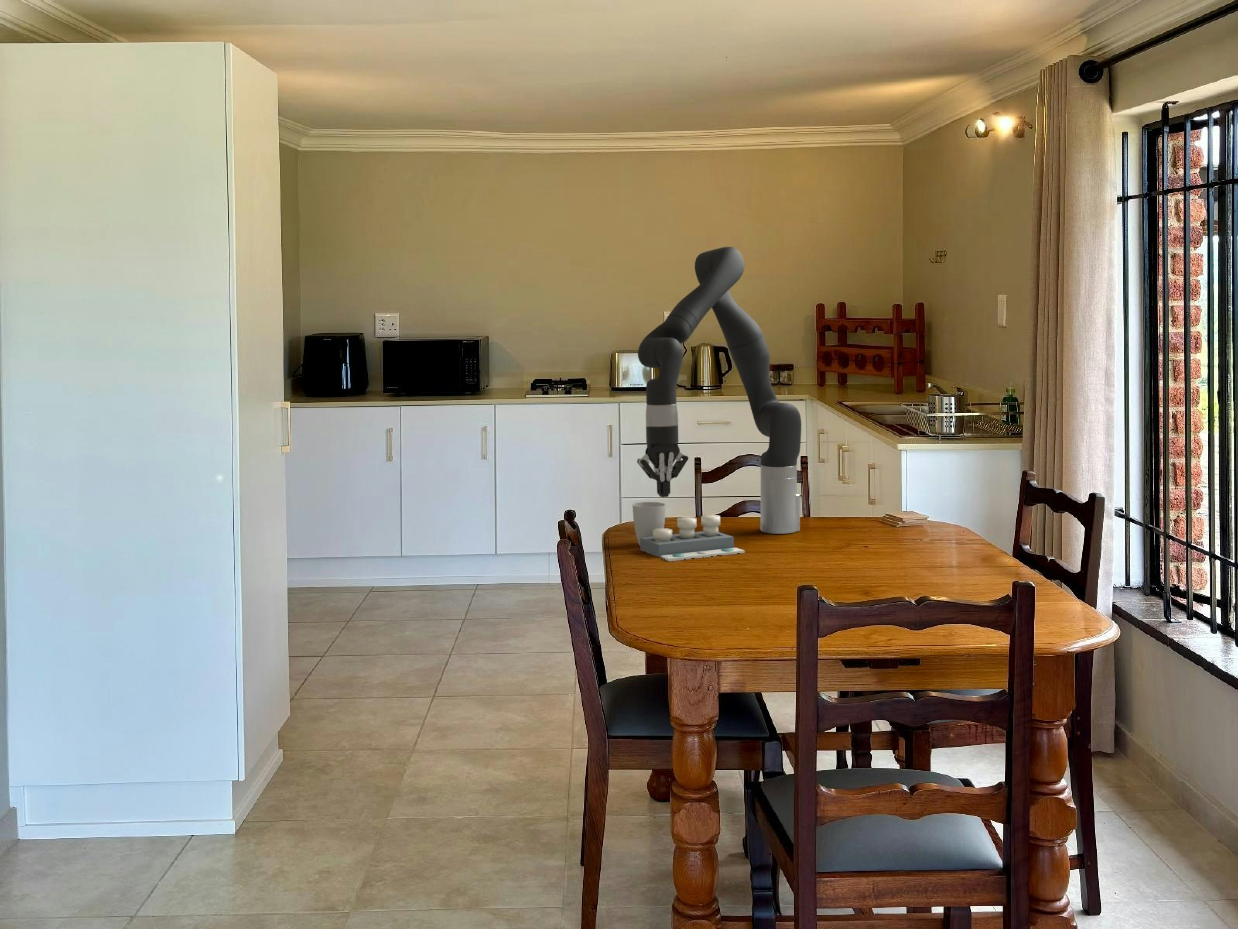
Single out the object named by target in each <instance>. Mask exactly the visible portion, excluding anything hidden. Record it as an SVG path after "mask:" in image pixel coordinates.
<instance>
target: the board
mask: <svg viewBox="0 0 1238 929" xmlns="http://www.w3.org/2000/svg"><path fill="white" fill-rule="evenodd" d="M694 532H695V538H693V539H681V538H679V533H675V534H674V533H672V539H670V541H665V542H657V541H655V539H653V536H651V537H641V538H640V545H639V546H640V547H639V548H640V549H639V550H640V551H641V552H644V551H645V553H647V554H648V555H649V554H650V555H652V556H655V557H656V558H657V557H658V558H661V556H662V555H672V554H681V553H690V552H698V551H709V550H718V549H725V548H735V537H734V536H732V535H729V534H725V533H722V532H720V531H718V536H714V537H707V536H703V530H702V531H694Z"/></svg>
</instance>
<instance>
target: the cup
mask: <svg viewBox="0 0 1238 929" xmlns="http://www.w3.org/2000/svg"><path fill="white" fill-rule="evenodd" d="M666 508H667V507H666V503H664V502H659V501H641V502H634V503H633V504H632V516H633V517H632V518H633V525H634V531H635V536H636V539H637V543H638V545H639V546H640V538H641V537H651V536H653V529H658V528H665V522H666Z"/></svg>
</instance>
